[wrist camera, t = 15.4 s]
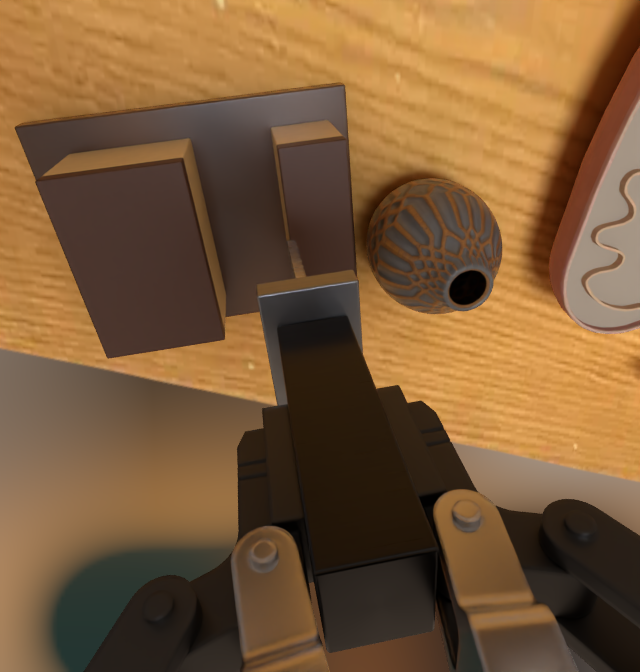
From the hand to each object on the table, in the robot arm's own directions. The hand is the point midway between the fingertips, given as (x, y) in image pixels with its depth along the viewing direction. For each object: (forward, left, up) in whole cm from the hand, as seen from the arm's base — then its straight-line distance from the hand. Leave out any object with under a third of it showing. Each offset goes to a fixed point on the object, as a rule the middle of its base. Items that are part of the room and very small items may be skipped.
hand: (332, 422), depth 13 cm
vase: (+8, -2, -18) cm, 20 cm away
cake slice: (+2, 0, -17) cm, 17 cm away
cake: (-7, 0, -17) cm, 19 cm away
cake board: (-4, 0, -18) cm, 19 cm away
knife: (0, 0, -9) cm, 9 cm away
